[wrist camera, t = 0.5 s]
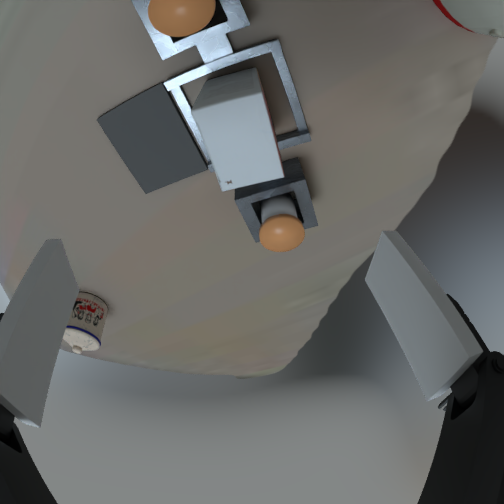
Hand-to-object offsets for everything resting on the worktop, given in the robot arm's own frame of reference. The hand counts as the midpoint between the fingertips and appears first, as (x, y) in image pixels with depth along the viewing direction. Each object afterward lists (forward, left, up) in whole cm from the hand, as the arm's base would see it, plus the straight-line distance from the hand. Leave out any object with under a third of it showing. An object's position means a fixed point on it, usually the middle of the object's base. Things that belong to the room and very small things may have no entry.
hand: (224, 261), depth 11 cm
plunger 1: (0, -10, -21) cm, 23 cm away
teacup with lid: (+45, +25, -24) cm, 57 cm away
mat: (+11, +2, -24) cm, 26 cm away
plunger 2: (0, +14, -21) cm, 25 cm away
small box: (0, +2, -24) cm, 24 cm away
